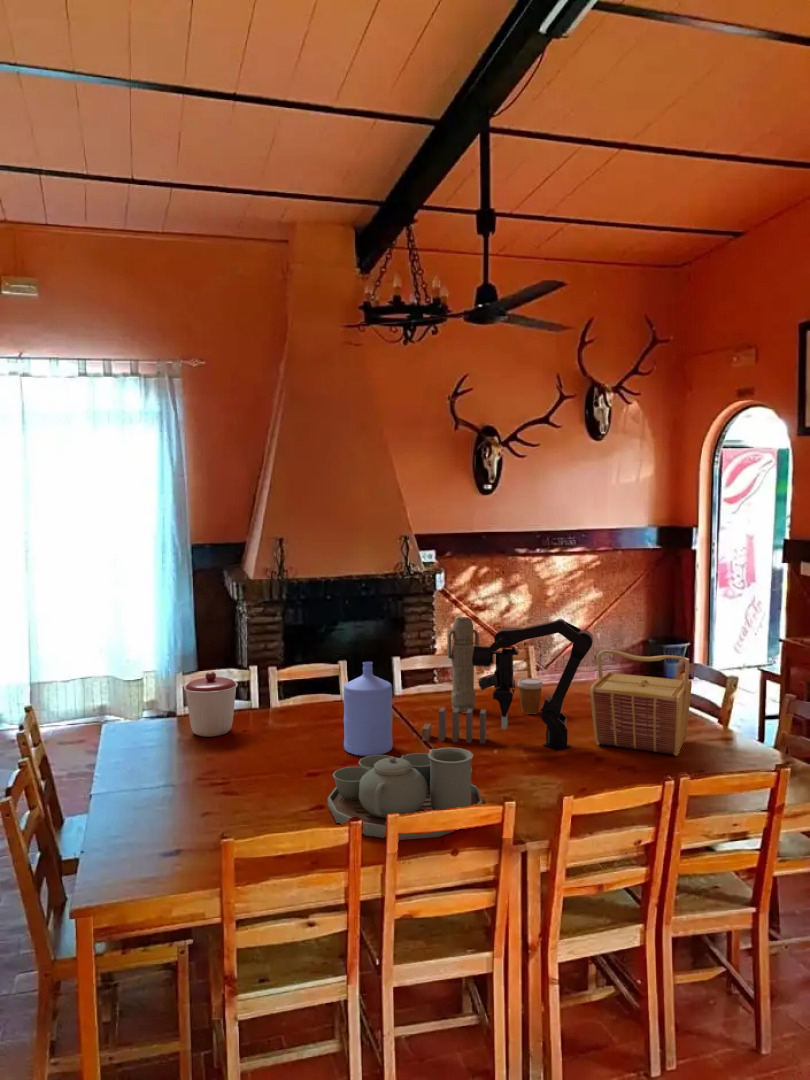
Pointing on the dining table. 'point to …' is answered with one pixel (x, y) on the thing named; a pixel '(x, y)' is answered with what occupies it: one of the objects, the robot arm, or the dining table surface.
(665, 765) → the dining table surface
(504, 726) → the teal domino
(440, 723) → the domino
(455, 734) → the domino
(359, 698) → the water jug
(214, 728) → the canister
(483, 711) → the domino
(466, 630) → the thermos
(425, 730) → the end block
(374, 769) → the tea set
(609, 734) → the picnic basket
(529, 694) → the disposable coffee cup
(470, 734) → the domino
